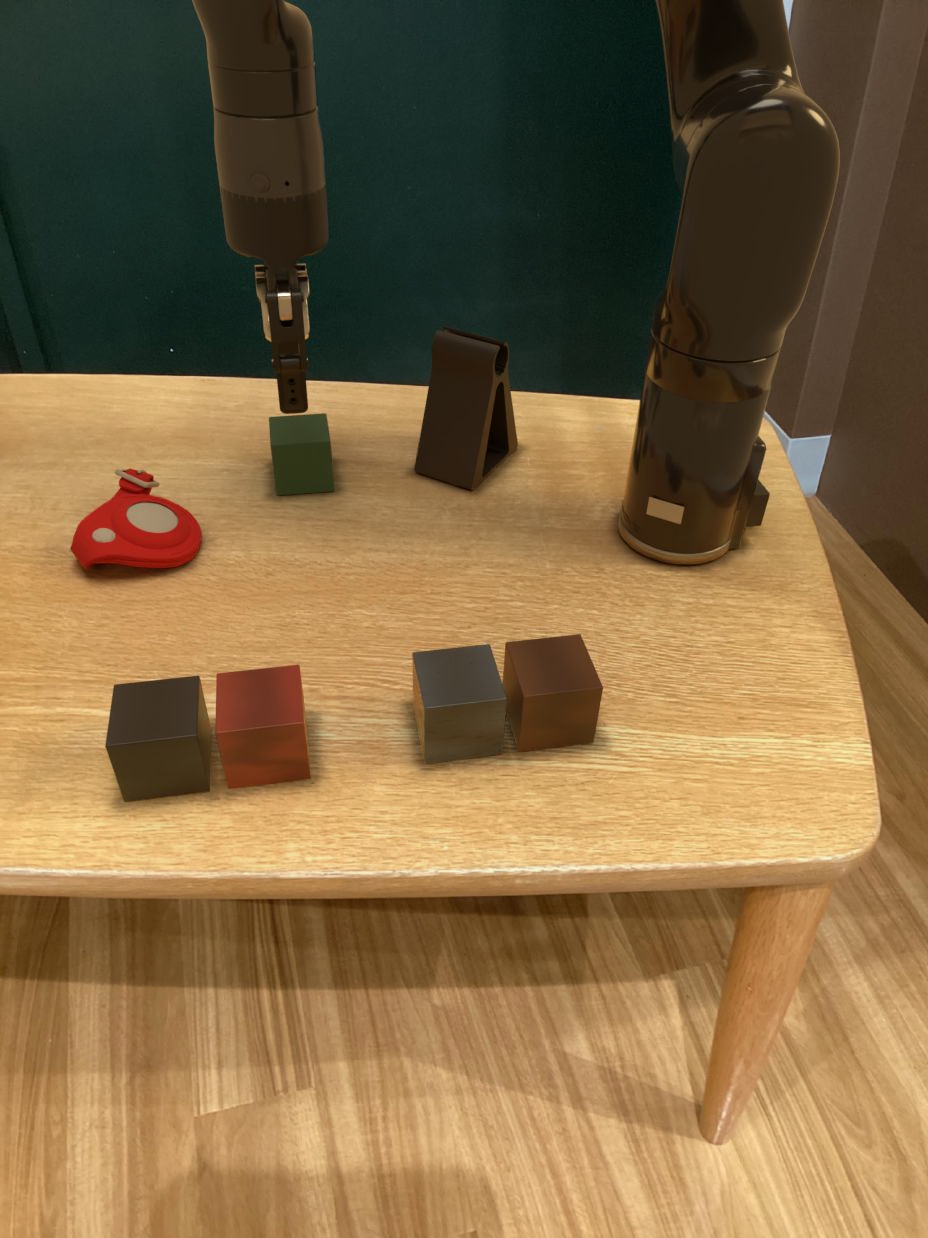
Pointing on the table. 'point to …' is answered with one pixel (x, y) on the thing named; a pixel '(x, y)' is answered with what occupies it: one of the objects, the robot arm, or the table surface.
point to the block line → (277, 728)
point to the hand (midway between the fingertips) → (291, 386)
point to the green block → (301, 454)
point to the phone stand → (466, 410)
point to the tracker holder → (137, 528)
